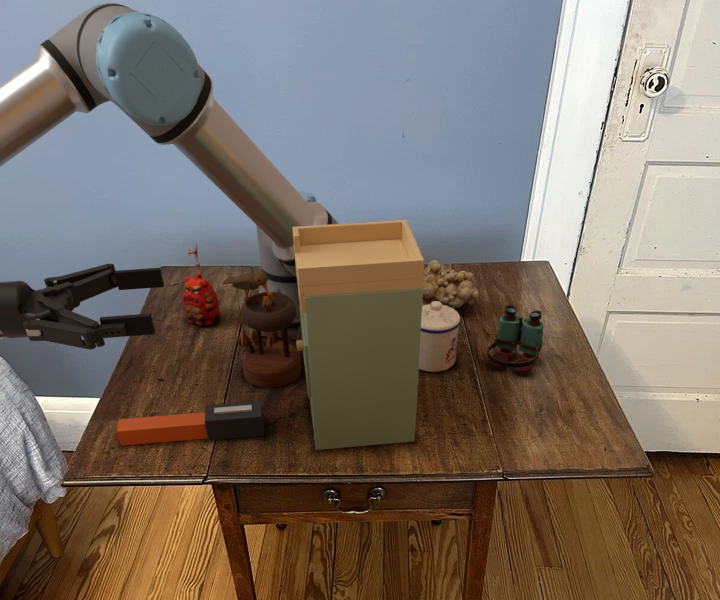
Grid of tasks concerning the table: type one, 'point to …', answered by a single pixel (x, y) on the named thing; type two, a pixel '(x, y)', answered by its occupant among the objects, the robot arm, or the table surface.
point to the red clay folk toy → (199, 298)
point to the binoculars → (517, 341)
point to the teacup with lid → (438, 337)
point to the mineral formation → (447, 286)
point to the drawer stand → (360, 330)
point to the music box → (268, 314)
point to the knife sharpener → (196, 425)
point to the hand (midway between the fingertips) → (157, 299)
